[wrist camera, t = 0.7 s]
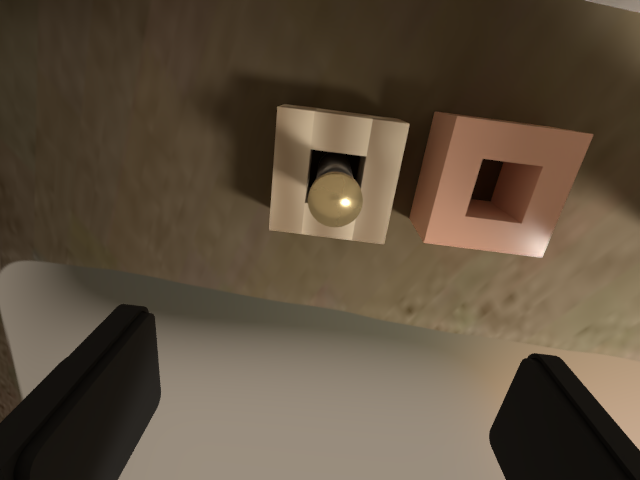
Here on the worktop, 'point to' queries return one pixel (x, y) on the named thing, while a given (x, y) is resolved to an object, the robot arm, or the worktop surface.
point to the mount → (340, 137)
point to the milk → (620, 4)
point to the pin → (335, 192)
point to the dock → (511, 188)
